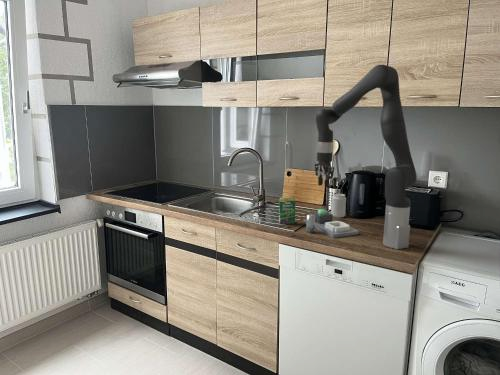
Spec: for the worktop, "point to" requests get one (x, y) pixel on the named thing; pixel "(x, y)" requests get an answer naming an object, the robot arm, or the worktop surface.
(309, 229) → the billet
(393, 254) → the worktop surface
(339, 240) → the worktop surface
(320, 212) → the button
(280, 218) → the coffee box
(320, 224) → the pallet
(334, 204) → the can
